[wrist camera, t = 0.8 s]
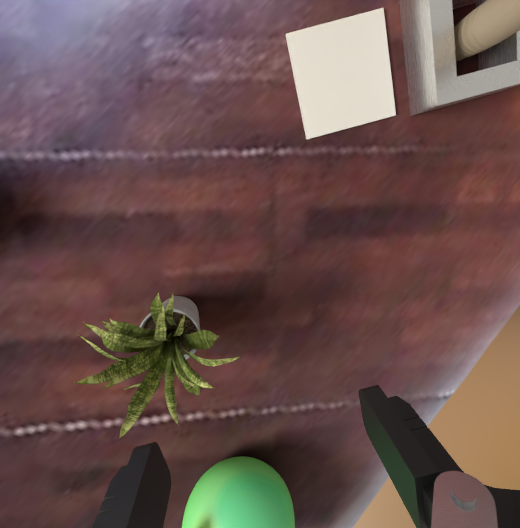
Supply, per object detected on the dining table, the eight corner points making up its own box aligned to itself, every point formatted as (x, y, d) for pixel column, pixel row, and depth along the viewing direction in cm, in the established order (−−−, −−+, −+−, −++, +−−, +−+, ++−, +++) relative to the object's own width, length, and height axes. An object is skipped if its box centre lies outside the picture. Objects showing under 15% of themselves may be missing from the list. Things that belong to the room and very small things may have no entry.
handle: (440, 11, 33) (596, -119, 19) (483, 42, 35) (661, -59, 20) (416, 54, 34) (548, -37, 20) (459, 83, 36) (613, 16, 21)
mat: (285, 35, 33) (286, 33, 32) (381, 9, 33) (383, 7, 32) (306, 139, 36) (307, 139, 35) (394, 115, 36) (396, 115, 36)
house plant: (213, 239, 38) (198, 280, 22) (254, 329, 42) (265, 417, 26) (111, 282, 38) (26, 351, 23) (161, 367, 42) (117, 476, 27)
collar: (398, -1, 33) (426, -32, 28) (494, -26, 33) (538, -62, 28) (410, 116, 36) (437, 105, 31) (497, 92, 36) (537, 78, 31)
